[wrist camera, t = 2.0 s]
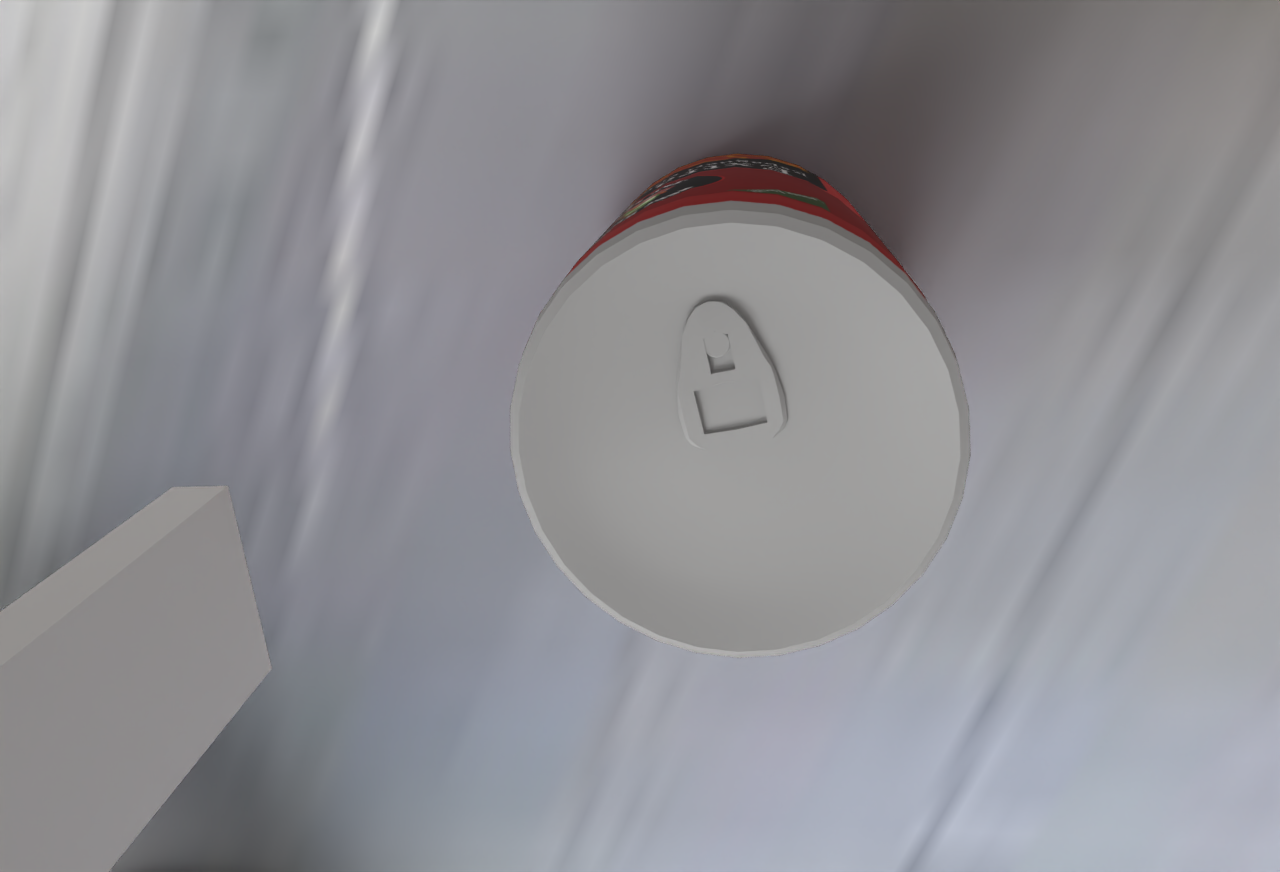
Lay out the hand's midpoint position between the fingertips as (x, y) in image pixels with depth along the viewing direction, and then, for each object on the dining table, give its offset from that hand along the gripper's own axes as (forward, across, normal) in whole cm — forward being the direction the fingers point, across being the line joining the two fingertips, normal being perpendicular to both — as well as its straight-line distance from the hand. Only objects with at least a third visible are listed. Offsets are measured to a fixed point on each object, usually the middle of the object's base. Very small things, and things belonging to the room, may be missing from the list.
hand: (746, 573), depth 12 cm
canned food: (+15, 0, 0) cm, 15 cm away
